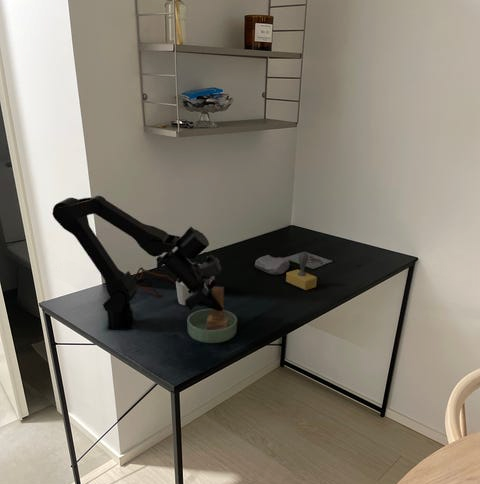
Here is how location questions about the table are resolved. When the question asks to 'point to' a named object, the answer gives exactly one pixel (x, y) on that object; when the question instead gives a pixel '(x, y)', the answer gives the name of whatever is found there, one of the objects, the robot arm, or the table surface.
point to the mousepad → (310, 260)
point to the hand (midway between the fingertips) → (222, 308)
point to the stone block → (272, 264)
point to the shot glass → (182, 292)
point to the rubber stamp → (301, 275)
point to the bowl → (200, 332)
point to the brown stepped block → (218, 312)
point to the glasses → (150, 273)
